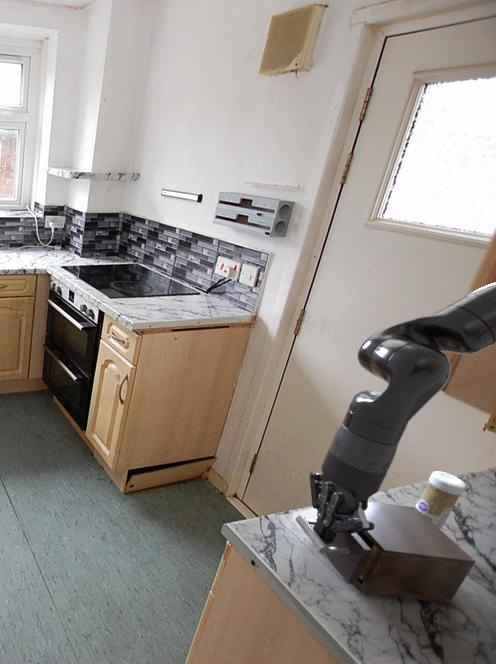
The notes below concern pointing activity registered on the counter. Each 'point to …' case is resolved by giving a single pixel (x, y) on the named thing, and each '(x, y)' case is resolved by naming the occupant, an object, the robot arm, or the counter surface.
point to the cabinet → (412, 556)
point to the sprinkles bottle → (440, 497)
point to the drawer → (344, 551)
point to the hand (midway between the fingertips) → (320, 539)
